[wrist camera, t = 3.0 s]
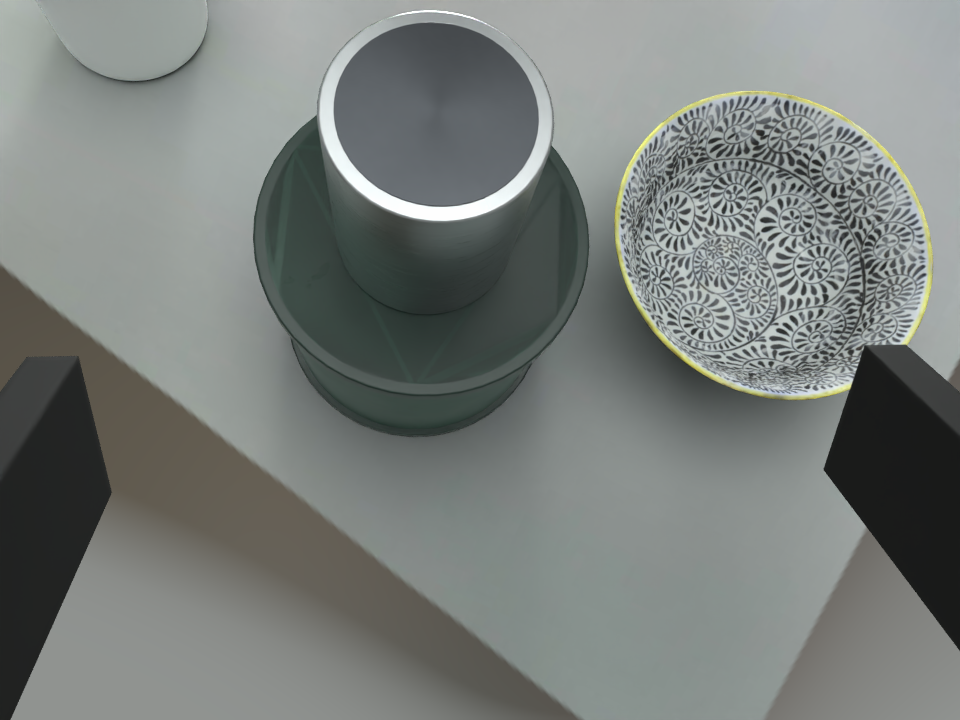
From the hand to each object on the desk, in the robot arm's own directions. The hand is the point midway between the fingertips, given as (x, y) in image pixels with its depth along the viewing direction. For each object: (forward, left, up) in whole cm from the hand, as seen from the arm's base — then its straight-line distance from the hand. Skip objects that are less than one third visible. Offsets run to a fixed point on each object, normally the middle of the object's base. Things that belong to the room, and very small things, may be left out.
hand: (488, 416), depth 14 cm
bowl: (+2, +21, -28) cm, 35 cm away
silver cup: (-8, +7, -17) cm, 20 cm away
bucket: (-8, +7, -28) cm, 30 cm away
